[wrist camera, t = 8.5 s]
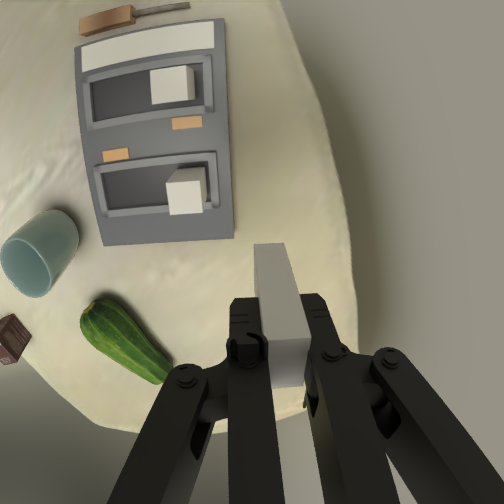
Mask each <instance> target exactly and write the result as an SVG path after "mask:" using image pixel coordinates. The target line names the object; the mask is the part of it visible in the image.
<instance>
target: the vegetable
mask: <svg viewBox="0 0 504 504" xmlns="http://www.w3.org/2000/svg"><path fill="white" fill-rule="evenodd" d="M80 328H81V330H82V333H83V335H84V336H85V337H86V339H87V340H88V341H89V342H90V343H91V344H92V345H93V346H94V347H95V348H96V349H98V350H99V351H101V352H102V353H104V354H105V355H107V356H108V357H110V358H111V359H113V360H114V361H116V362H117V363H119V364H120V365H122V366H123V367H125V368H126V369H128V370H130V371H131V372H133V373H135V374H137V375H138V376H140V377H142V378H143V379H145V380H147V381H149V382H151V383H152V384H155V385H159V384H161V383H164V381H165V379H166V377H167V375H168V374H169V372H170V371H171V370H172V369H173V366H172V365H171V364H170V362H169V361H168V360H167V358H166V357H165V356H164V355H162V354H161V353H160V352H159V351H158V350H157V349H156V348H155V347H154V346H153V345H152V344H151V343H150V342H149V340H148V339H147V338H146V337H145V335H144V334H143V333H142V331H141V330H140V328H139V327H138V326H137V325H136V323H135V322H134V321H133V319H132V318H131V317H130V316H129V315H128V314H127V313H126V312H125V311H124V310H123V309H122V307H120V306H119V305H118V304H116V303H115V302H113V301H111V300H108V299H98V300H95V301H94V302H93V303H91V304H90V305H89V306H88V307H87V308H86V309H85V310H84V311H83V313H82V315H81V318H80Z"/></svg>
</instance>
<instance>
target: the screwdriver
mask: <svg viewBox="0 0 504 504" xmlns="http://www.w3.org/2000/svg"><path fill="white" fill-rule="evenodd" d="M182 8H190V3H189V2H184V3H177V4H170V5H164V6H158V7H152V8H147V9H142V10H138V11H135V8H134V7H133V6H132V5H126V6H122V7H118V8H115V9H111V10H107V11H104V12H101V13H97V14H94V15H91V16H88V17H85V18H82V19H80V22H79V35H82V36H86V37H87V36H90V35H94V34H97V33H100V32H104V31H108V30H111V29H115V28H119V27H123V26H127V25H132V24H135V17H136V16H141V15H146V14H151V13H156V12H162V11H168V10H175V9H182Z"/></svg>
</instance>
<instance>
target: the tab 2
mask: <svg viewBox="0 0 504 504" xmlns="http://www.w3.org/2000/svg"><path fill="white" fill-rule="evenodd" d="M166 189H167V197H168V204H169V211H170V215H178V214H192V213H203V210H204V206H205V202H206V198H207V185H206V173H205V167H195V168H184V169H176V170H175V171H174V173H173V174H172V175H171V177H170V178H169V179H168V181H167V182H166Z"/></svg>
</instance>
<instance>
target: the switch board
mask: <svg viewBox="0 0 504 504" xmlns="http://www.w3.org/2000/svg"><path fill="white" fill-rule="evenodd" d="M74 51H75V79H76V94H77V105H78V115H79V124H80V132H81V139H82V146H83V153H84V159H85V165H86V171H87V176H88V181H89V186H90V191H91V196H92V201H93V205H94V210H95V214H96V218H97V222H98V226H99V230H100V234H101V238H102V242H103V245H104V246H117V245H132V244H148V243H164V242H180V241H197V240H215V239H233V238H234V221H233V204H232V186H231V167H230V148H229V127H228V105H227V81H226V54H225V23H224V18H221V19H208V20H197V21H188V22H181V23H174V24H167V25H161V26H155V27H150V28H145V29H140V30H135V31H131V32H127V33H123V34H118V35H115V36H111V37H107V38H104V39H100V40H97V41H93V42H90V43H87V44H84V45H81V46H78V47H75V48H74ZM185 65H186V66H188V67H190V68H191V69H193V70H194V80H195V99H193V100H184V101H175V102H167V103H160V104H153V105H152V98H151V82H150V71H151V70H157V69H163V68H170V67H177V66H185ZM195 167H205V173H206V185H207V198H206V202H205V206H204V210H203V213H192V214H178V215H170V211H169V204H168V197H167V189H166V182H167V181H168V179H169V178H170V177H171V175H172V174H173V173H174V171H175V170H176V169H184V168H195Z"/></svg>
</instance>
